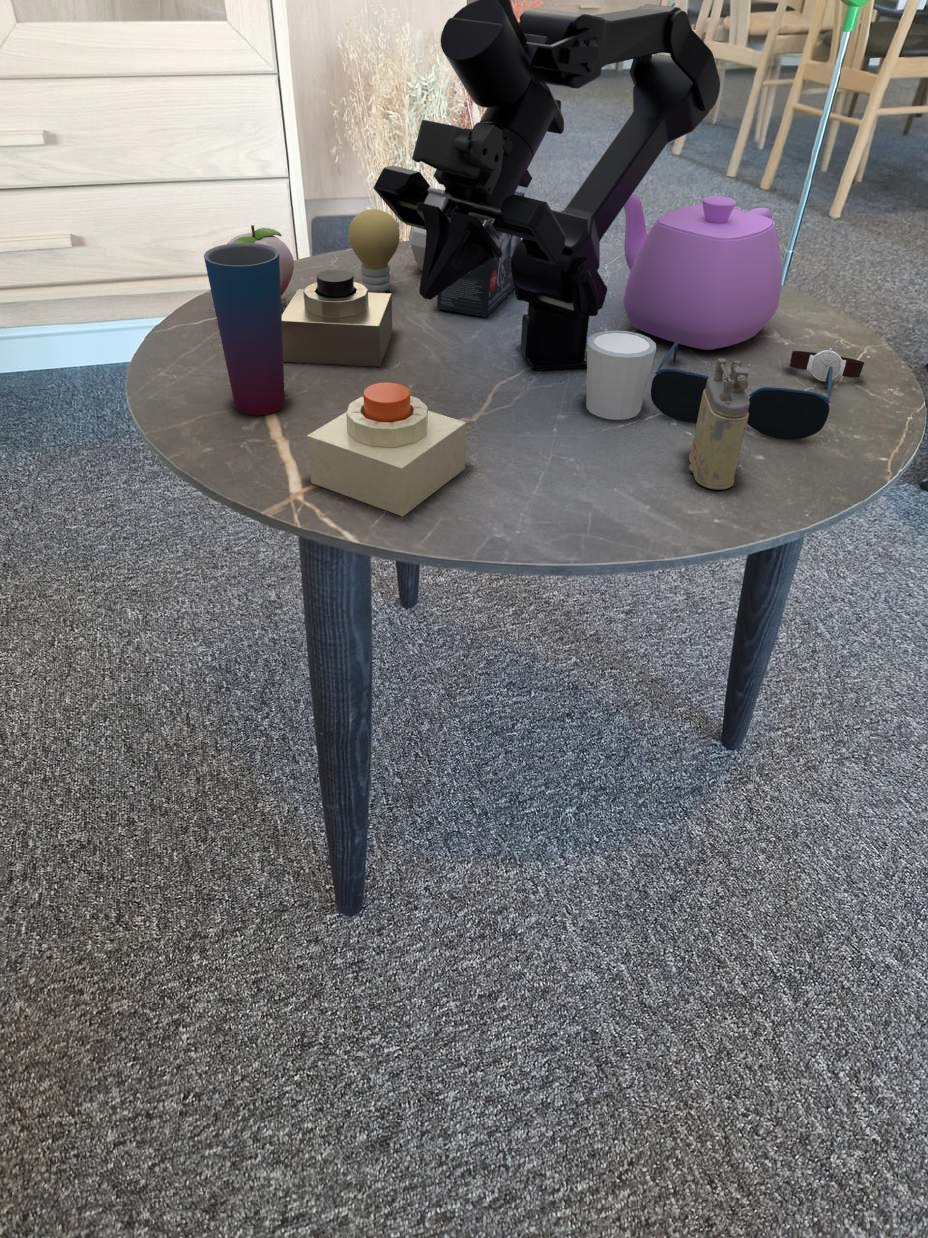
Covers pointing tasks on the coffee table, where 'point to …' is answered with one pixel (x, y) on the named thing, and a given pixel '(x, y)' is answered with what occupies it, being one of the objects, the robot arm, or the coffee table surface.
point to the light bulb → (374, 247)
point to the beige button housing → (387, 456)
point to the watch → (826, 364)
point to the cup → (249, 322)
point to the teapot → (702, 272)
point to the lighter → (720, 427)
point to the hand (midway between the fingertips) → (424, 296)
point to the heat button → (335, 283)
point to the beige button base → (337, 327)
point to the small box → (482, 284)
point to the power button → (386, 402)
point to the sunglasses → (767, 410)
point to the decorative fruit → (268, 239)
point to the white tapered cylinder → (618, 373)
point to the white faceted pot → (418, 244)
